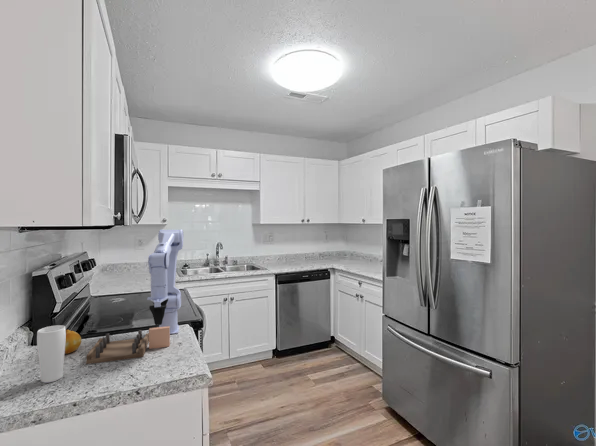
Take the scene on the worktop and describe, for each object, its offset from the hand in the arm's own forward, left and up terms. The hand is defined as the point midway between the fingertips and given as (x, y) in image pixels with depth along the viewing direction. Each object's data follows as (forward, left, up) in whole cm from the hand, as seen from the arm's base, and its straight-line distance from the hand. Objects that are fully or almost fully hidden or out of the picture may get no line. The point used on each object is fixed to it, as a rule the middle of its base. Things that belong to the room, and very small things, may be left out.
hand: (159, 321), depth 118 cm
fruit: (-6, -31, -10) cm, 33 cm away
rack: (0, -13, -9) cm, 16 cm away
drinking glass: (+16, -28, -10) cm, 34 cm away
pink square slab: (0, 0, -9) cm, 9 cm away
